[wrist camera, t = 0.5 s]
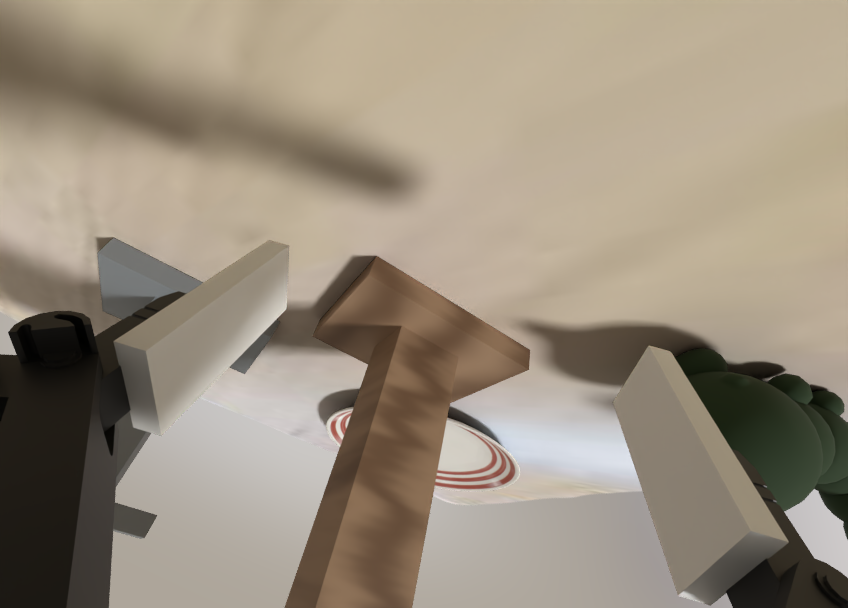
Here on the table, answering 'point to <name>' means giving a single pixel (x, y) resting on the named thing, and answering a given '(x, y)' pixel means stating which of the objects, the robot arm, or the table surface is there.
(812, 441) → the dark green knobbed ball
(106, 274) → the low stand
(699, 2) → the table surface
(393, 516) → the tall stand
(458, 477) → the dinner plate
